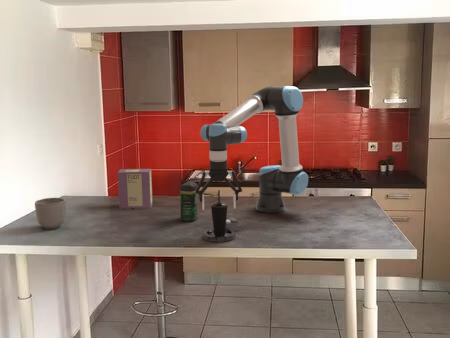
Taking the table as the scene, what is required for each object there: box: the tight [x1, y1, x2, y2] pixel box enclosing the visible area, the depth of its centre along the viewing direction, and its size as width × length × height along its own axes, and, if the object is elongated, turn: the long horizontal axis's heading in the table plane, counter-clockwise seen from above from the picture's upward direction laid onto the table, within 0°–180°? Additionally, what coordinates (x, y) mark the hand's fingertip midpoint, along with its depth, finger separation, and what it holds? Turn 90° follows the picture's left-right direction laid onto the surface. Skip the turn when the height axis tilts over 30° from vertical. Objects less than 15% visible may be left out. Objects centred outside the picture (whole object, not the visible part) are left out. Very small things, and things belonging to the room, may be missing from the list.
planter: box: [34, 197, 67, 231], centre depth 247 cm, size 14×14×13 cm
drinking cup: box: [210, 190, 229, 236], centre depth 228 cm, size 8×8×20 cm
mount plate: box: [202, 227, 237, 243], centre depth 230 cm, size 14×14×2 cm
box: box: [117, 168, 153, 210], centre depth 284 cm, size 17×9×20 cm, turn 92°
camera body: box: [226, 216, 239, 232], centre depth 241 cm, size 8×6×5 cm
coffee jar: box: [179, 181, 199, 222], centre depth 258 cm, size 10×8×19 cm
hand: (218, 208), depth 228 cm, fingers open, 13 cm apart
